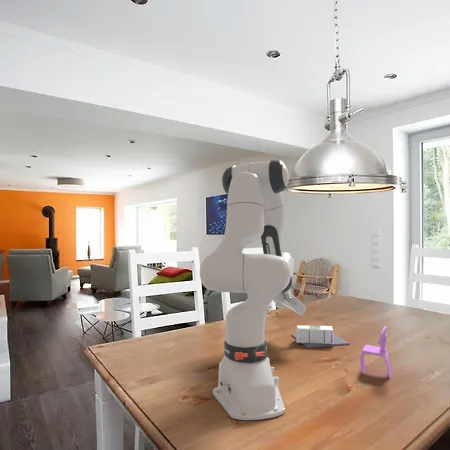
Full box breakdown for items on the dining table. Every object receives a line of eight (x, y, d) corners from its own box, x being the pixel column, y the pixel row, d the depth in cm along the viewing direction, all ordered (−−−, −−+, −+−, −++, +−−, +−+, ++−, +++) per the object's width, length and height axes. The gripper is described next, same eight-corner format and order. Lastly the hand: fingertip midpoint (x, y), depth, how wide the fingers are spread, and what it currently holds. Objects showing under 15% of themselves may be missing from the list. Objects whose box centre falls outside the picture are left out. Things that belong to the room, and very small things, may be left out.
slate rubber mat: (349, 344, 140) (349, 343, 140) (306, 347, 136) (306, 346, 136) (330, 332, 156) (330, 331, 156) (291, 335, 152) (291, 334, 152)
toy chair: (363, 365, 119) (363, 320, 119) (392, 370, 115) (392, 324, 115) (359, 374, 112) (358, 326, 112) (389, 380, 107) (389, 330, 107)
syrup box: (296, 343, 140) (334, 345, 138) (296, 328, 140) (334, 329, 138) (295, 338, 146) (332, 340, 144) (295, 324, 146) (332, 325, 144)
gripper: (294, 289, 133) (318, 314, 135) (276, 282, 153) (297, 303, 155) (282, 302, 132) (307, 327, 134) (266, 292, 152) (288, 314, 154)
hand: (302, 314), depth 144 cm, fingers closed
